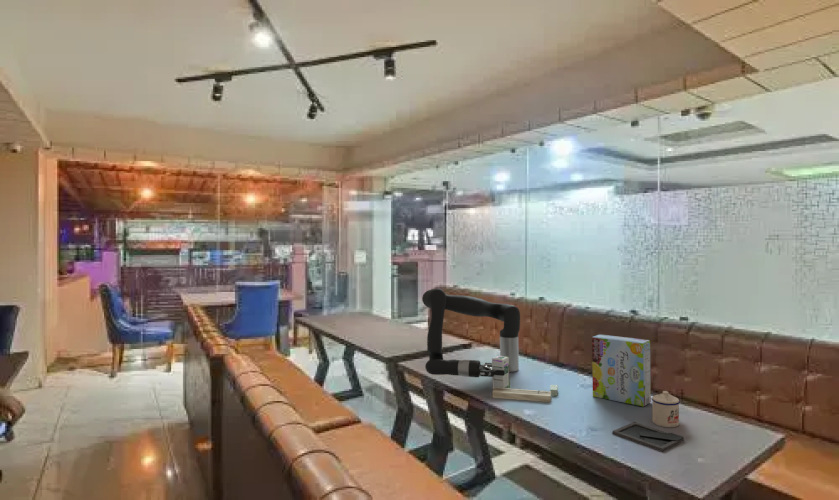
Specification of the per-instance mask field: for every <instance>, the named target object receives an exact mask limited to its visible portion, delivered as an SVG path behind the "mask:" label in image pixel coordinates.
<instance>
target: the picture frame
mask: <svg viewBox="0 0 839 500" xmlns="http://www.w3.org/2000/svg"><path fill="white" fill-rule="evenodd" d="M612 435H615V436H616V437H619V438H620V437H621V438H624V439H626V440H628V441H631V442H634V443H637V444H639V445H642V446H645V447H648V448H650V449H653V450H657V451H658V452H662V453H664V452H666V451H667V450H669V449H671V448H674V447H676V446H678V445H679V444H680V443H683V442H685V437H684V436H682V435H681V434H680V435H679V434H677V433H673V432H667V431H663V430H662V429H661V430H660V429H657V428H654V427H650V426H648V425H645V424H642V423H638V422H636V421H633V422H631V423H629V424H628V423H627V424H626V425H624V426H622V427H619V428H617V429H614V430H612Z"/></svg>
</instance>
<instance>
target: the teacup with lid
mask: <svg viewBox="0 0 839 500" xmlns="http://www.w3.org/2000/svg"><path fill="white" fill-rule="evenodd" d="M651 400H652V401H651V402H652V422H653V423H654V424H655V425H657V426H659V427H664V428H676V427H678V426H679V425H680V403H681V402H680V400H679V398H678V397H676V396H674V395H672V394H670V393H669V391H667V390H663V391H662V393H659V394H654V395H653V396H652V397H651Z"/></svg>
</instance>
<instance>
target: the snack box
mask: <svg viewBox="0 0 839 500" xmlns="http://www.w3.org/2000/svg"><path fill="white" fill-rule="evenodd" d="M591 356H592V357H591V364H592V365H591V366H592V367H591V368H592V397H593V398H594V397H595V398H599V399H605V400H610V401H615V402H617V403H618V402H619V403H625V404H629V405H634V406H638V407H645V406H647V405H649V404H650V403H651V402H652V401H651V400H652V397H651V340H649V339H641V338H634V337H625V336H624V337H623V336H615V335H608V334H597V335H595V336H594V335H593V336H592V337H591Z"/></svg>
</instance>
